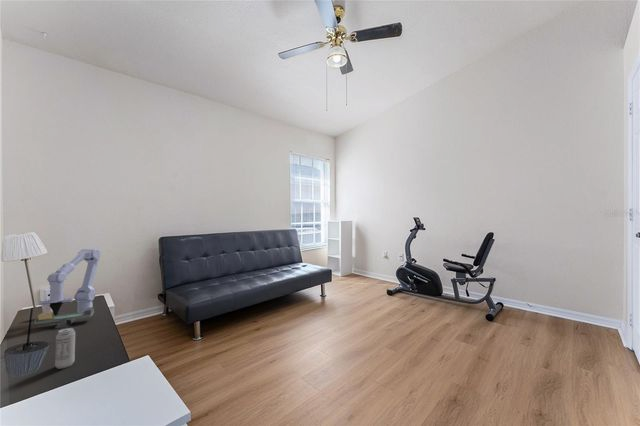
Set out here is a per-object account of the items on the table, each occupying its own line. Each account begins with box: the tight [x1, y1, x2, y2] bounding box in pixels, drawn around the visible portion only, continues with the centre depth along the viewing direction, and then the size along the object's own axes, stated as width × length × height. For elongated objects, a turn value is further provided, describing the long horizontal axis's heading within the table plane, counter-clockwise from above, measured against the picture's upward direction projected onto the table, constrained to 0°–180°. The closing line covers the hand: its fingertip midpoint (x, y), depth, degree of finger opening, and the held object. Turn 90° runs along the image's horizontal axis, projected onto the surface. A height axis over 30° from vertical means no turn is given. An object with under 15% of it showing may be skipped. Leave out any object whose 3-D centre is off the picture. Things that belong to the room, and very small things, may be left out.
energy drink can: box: [54, 327, 76, 370], centre depth 115 cm, size 6×6×15 cm
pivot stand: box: [54, 313, 76, 330], centre depth 163 cm, size 12×6×5 cm, turn 29°
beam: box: [33, 306, 95, 326], centre depth 163 cm, size 9×25×4 cm, turn 119°
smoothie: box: [41, 295, 53, 313], centre depth 176 cm, size 6×6×14 cm
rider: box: [37, 312, 55, 321], centre depth 159 cm, size 5×6×4 cm
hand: (56, 315), depth 161 cm, fingers closed
